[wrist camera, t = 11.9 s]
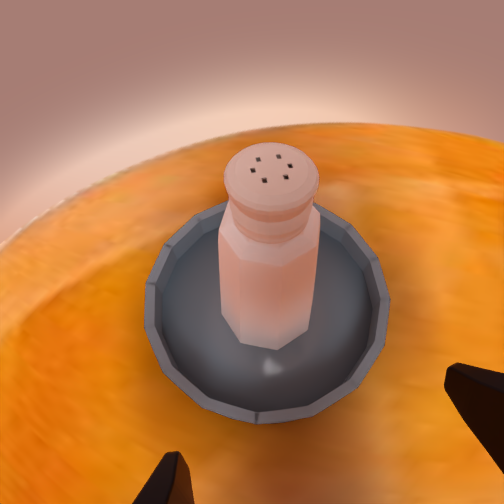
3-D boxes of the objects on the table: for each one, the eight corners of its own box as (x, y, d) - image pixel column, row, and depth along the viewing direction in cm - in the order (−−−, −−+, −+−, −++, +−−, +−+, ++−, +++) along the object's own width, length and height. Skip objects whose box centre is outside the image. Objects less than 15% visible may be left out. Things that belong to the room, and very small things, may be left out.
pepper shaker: (301, 258, 20) (328, 109, 10) (323, 340, 17) (394, 230, 8) (215, 273, 20) (176, 128, 10) (228, 359, 17) (182, 266, 7)
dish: (351, 445, 15) (364, 447, 13) (124, 378, 17) (107, 370, 15) (385, 242, 22) (396, 222, 19) (202, 200, 24) (196, 178, 22)
